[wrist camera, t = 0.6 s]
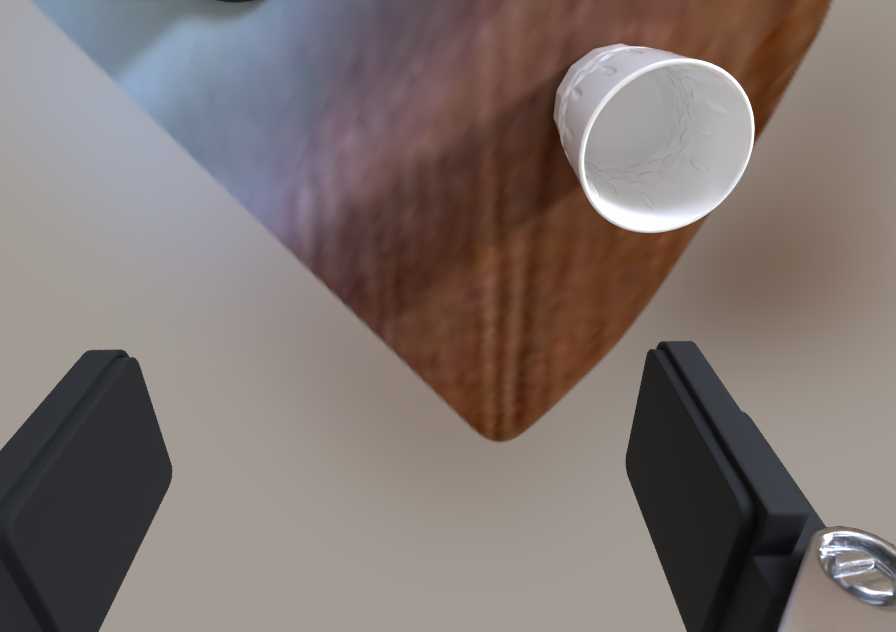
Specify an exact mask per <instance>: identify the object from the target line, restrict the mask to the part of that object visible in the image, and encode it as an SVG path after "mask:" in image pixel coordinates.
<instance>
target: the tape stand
mask: <svg viewBox="0 0 896 632" xmlns="http://www.w3.org/2000/svg"><path fill="white" fill-rule="evenodd" d="M218 1H224V2H245V1H252V0H218Z"/></svg>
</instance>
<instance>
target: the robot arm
mask: <svg viewBox="0 0 896 632" xmlns="http://www.w3.org/2000/svg"><path fill="white" fill-rule="evenodd" d="M626 470H627V475H628V478H629V480H630V483H631V486H632V488H633V491H634V494H635V496H636V499H637V501H638V504H639V507H640V509H641V512H642V515H643V517H644V520H645V523H646V525H647V527H648V530H649V533H650V535H651V538H652V541H653V543H654V546H655V549H656V552H657V554H658V557H659V559H660V562H661V565H662V567H663V570H664V572H665V575H666V578H667V580H668V583H669V585H670V588H671V591H672V594H673V596H674V599H675V601H676V604H677V607H678V609H679V612H680V614H681V617H682V620H683V623H684V625H685V628H686V630H687V632H896V547H895V546H894V545H893V544H891V543H889V542H887V541H885V540H884V539H881V538H880V537H878V536H876V535H874V534H871V533H868V532H865V531H863V530H859V529H856V528H850V527H843V526H836V527H826V526H825V525H824V523H823V522H822V520H821V519H820V518H819V516H818V514H817V513H816V512H815V510H814V509H813V507H812V506H811V504H810V503H809V502H808V500H807V499H806V497H805V496H804V494H803V493H802V491H801V490H800V489H799V487H798V486H797V484H796V483H795V481H794V480H793V478H792V477H791V475H790V474H789V473H788V471H787V470H786V468H785V467H784V465H783V464H782V462H781V461H780V460H779V458H778V457H777V455H776V454H775V452H774V451H773V449H772V448H771V446H770V445H769V444H768V442H767V441H766V439H765V438H764V436H763V435H762V433H761V432H760V431H759V429H758V428H757V426H756V425H755V423H754V422H753V421H752V419H751V418H750V417H749V416H748V415H747V414H746V413H745V412H742V411H741V410H740V408H739V407H738V405H737V404H736V403H735V401H734V400H733V398H732V397H731V395H730V394H729V392H728V391H727V389H726V388H725V387H724V385H723V383H722V382H721V380H720V379H719V378H718V376H717V375H716V373H715V372H714V370H713V369H712V367H711V366H710V364H709V363H708V362H707V360H706V358H705V357H704V356H703V354H702V353H701V351H700V350H699V348H698V347H697V345H696V344H695V343H694V342H692V341H669V342H668V341H663V342H660V343H659V344H658V346H657V348H656V349H651V350H649V352H648V353H647V357H646V361H645V366H644V371H643V376H642V380H641V385H640V391H639V395H638V400H637V405H636V410H635V415H634V420H633V425H632V430H631V434H630V439H629V444H628V449H627V454H626ZM171 478H172V465H171V462H170V459H169V456H168V452H167V449H166V447H165V443H164V440H163V437H162V434H161V431H160V427H159V424H158V421H157V418H156V415H155V412H154V409H153V406H152V403H151V400H150V396H149V394H148V390H147V387H146V384H145V381H144V378H143V375H142V371H141V368H140V365H139V363H138V361H137V360H136V359H135V358H133V357H131V358H130V357H129V356H128V354H127V353H126V352H125V351H123V350H90V351H87V352H85V353H84V354H83V355H82V356H81V358H80V359H79V360H78V361H77V362H76V363H75V364H74V366H73V367H72V368H71V369H70V370H69V371H68V373H67V374H66V375H65V376H64V377H63V379H62V380H61V381H60V382H59V383H58V384H57V385H56V387H55V388H54V389H53V390H52V391H51V393H50V394H49V395H48V396H47V397H46V398H45V399H44V401H43V402H42V403H41V404H40V405H39V406H38V408H37V409H36V410H35V411H34V412H33V413H32V414H31V416H30V417H29V418H28V419H27V420H26V422H25V423H24V424H23V425H22V426H21V427H20V429H19V430H18V431H17V432H16V433H15V434H14V435H13V437H12V438H11V439H10V440H9V441H8V442H7V444H6V445H5V446H4V447H3V448H2V450H1V451H0V632H98V631H99V629H100V627H101V625H102V623H103V621H104V619H105V617H106V615H107V613H108V611H109V609H110V607H111V605H112V602H113V601H114V599H115V597H116V594H117V592H118V590H119V588H120V586H121V584H122V582H123V580H124V578H125V576H126V574H127V572H128V570H129V568H130V566H131V564H132V562H133V560H134V557H135V555H136V553H137V551H138V549H139V547H140V545H141V543H142V541H143V539H144V537H145V535H146V533H147V531H148V529H149V527H150V524H151V523H152V520H153V518H154V516H155V514H156V512H157V510H158V508H159V506H160V504H161V502H162V500H163V498H164V496H165V494H166V492H167V490H168V488H169V485H170V482H171Z"/></svg>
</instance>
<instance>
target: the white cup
mask: <svg viewBox="0 0 896 632" xmlns="http://www.w3.org/2000/svg"><path fill="white" fill-rule="evenodd" d="M553 118H554V121H555V124H556V127H557V130H558V133H559V136H560V140H561V144H562V146H563V149H564V151H565V153H566V156H567V158H568V160H569V163H570V165H571V167H572V168H573V170H574V172H575V174H576V176H577V178H578V180H579V182H580V184H581V186H582V188H583V190H584V192H585V194H586V196H587V198H588V200H589V202H590V203H591V204H592V206H593V207H594V208H595V210H596V211H597V212H598V213H599V214H600V215H601V216H603V217H604V218H605V219H606V220H608V221H609V222H611V223H613V224H615V225H617V226H619V227H621V228H624V229H627V230H630V231H635V232H642V233H657V232H665V231H670V230H674V229H677V228H680V227H683V226H686V225H688V224H690V223H692V222H694V221H696V220H698V219H700V218H702V217H703V216H705V215H706V214H708V213H709V212H710V211H712V210H713V209H714V208H715V207H717V206H718V205H719V204H720V203H721V202H722V201H723V200H724V199H725V198H726V197H727V196H728V195H729V193H730V192H731V191H732V190H733V188H734V187H735V185H736V184H737V183H738V181H739V179H740V178H741V176H742V174H743V172H744V170H745V168H746V166H747V163H748V161H749V158H750V155H751V151H752V147H753V141H754V118H753V113H752V108H751V105H750V102H749V100H748V98H747V96H746V94H745V92H744V90H743V89H742V87H741V86H740V85H739V83H738V82H737V81H736V80H735V79H734V78H733V77H732V76H731V75H730V74H728V73H727V72H726V71H724V70H723V69H721V68H719V67H717V66H715V65H713V64H710V63H708V62H704V61H701V60H697V59H693V58H689V57H685V56H681V55H677V54H674V53H671V52H668V51H663V50H657V49H652V48H647V47H639V46H629V45H625V44H622V43H620V44H615V45H610V46H605V47H601V48H596V49H593V50H592V51H590V52H589V53H588V54H586V55H585V56H584V57H582V58H581V59H580V60H578V61H577V62H576V63H574V64H573V65H572V66H571V67H570V68H569V70H568V72H567V73H566V75H565V77H564V79H563V80H562V82H561V84H560V85H559V87H558V89H557V91H556V98H555V107H554V115H553Z"/></svg>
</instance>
